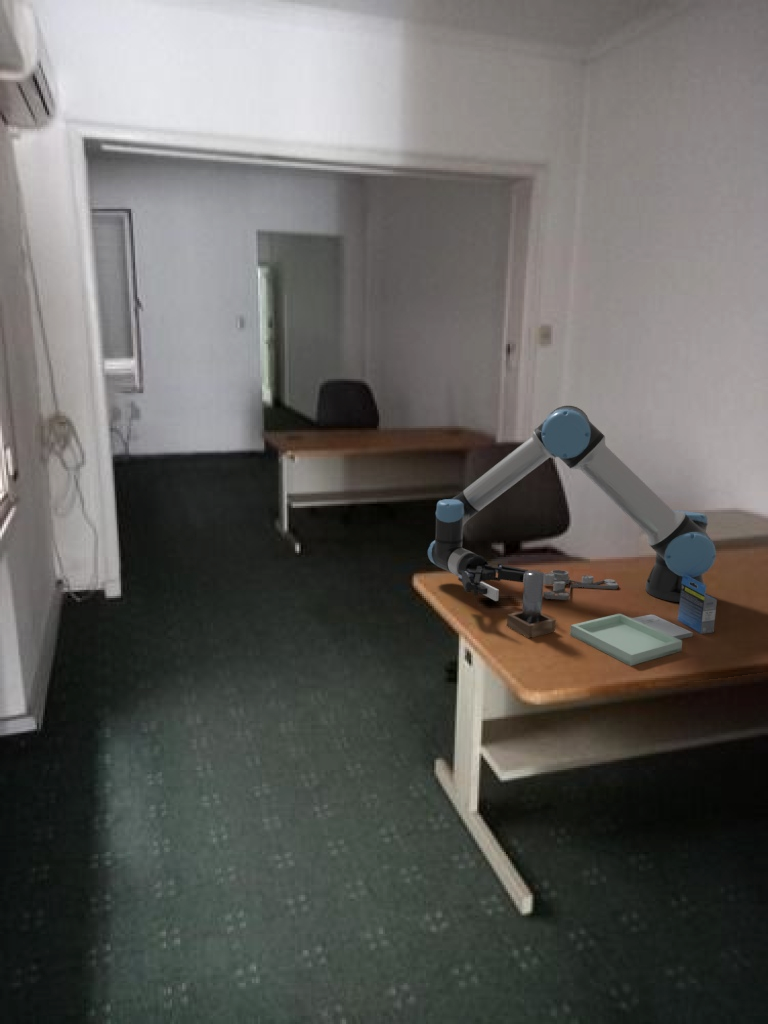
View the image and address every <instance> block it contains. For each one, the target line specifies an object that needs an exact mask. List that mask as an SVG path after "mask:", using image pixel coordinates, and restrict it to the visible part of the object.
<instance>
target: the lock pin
mask: <svg viewBox="0 0 768 1024" xmlns="http://www.w3.org/2000/svg"><path fill="white" fill-rule="evenodd" d="M528 570H529V569H528ZM544 573H545V572H542V571H540V570H531V569H530V570H529V571H526V572H525V577H524V584H523V591H522V592H523V595H522V620H523V621H525V622H527V623H529V624H532V623H536V622H540V621H541V613H542V604H543V595H544V594H543V593H544V584H543V581H544Z"/></svg>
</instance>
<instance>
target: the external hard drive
mask: <svg viewBox="0 0 768 1024" xmlns="http://www.w3.org/2000/svg"><path fill="white" fill-rule="evenodd" d="M631 618H632V619H634V620H636V621H639V622H641V623H643V624H645V625H648V626H650V627H652V628H654V629H657V630H659V631H661V632H664V633H666V634H668V635H670V636H673V637H675V638H677V639H679V640H682V639H686V638H692V637H693V635H694V633H693V631H690V630H688V629H686V628H683V627H682V626H679V625H678V624H675V623H672V622H670V621H668V620H666V619H664V618H662V617H659V616H657V615H655V614H646V615H641V616H640V615H639V616H636V617H631Z"/></svg>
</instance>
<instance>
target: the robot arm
mask: <svg viewBox="0 0 768 1024" xmlns="http://www.w3.org/2000/svg"><path fill="white" fill-rule="evenodd" d="M549 458H550V459H551V458H552V459H553V458H554V459H555V458H559V459H560V460H561V461H562V462H563V463H564V464H565V465H566V466H567V467H568V468H569V469H571V470H580V471H581V472H582V473H583V474H584V475H585V476H586V477H587V478H588V479H589V480H591V481H592V482H593V483H594V484H595V486H597V487H598V488H599V490H601V491H602V493H604V494H605V495H606V496H607V497H608V498H609V499H610V500H611V501H612V502H613V503H614V504H615V505H616V506H617V507H618V508H619V509H620V510H621V511H622V512H623V513H625V514H626V515H627V517H629V519H631V520H632V521H633V523H634V524H636V525H637V526H638V527H639V528H640V530H642V531H643V532H644V533H645V534H646V535H647V544H648V545H649V547H650V548H652V550H654V552H656V553H655V562H654V565H653V567H652V569H651V571H650V573H649V575H648V578H647V579H646V582H645V589H646V590H645V592H646V593H648V594H649V595H651V596H652V597H655V598H657V599H661V600H663V601H668V602H676V603H680V594H681V584H682V579H683V575H684V574H686V575H687V576H689V577H691V578H693V579H695V580H697V581H699V582H701V583H703V584H705V583H704V578H703V574H705V573H707V572H708V571H709V570H710V569H711V568H712V567H713V565H714V563H715V562H716V557H717V556H716V555H717V552H716V546H715V542H714V541H713V540H712V539H711V537H710V535H708V532H707V526H708V525H709V523H708V516H707V515H706V514H704V513H701V512H696V511H695V512H694V511H686V510H673V509H672V508H671V507H670V506H668V504H667V503H666V502H665V501H664V500H663V499H661V497H659V496H658V494H657V493H655V491H653V490H652V489H651V488H650V487H649V486H648V484H646V483H645V482H644V481H643V480H642V479H641V478H640V477H639V476H638V475H636V473H635V472H634V471H633V470H631V469H630V467H628V466H627V464H625V462H624V461H622V460H621V458H619V457H618V456H617V455H616V454H615V453H614V452H613V451H612V450H611V449H610V448H609V447H608V446H607V445H606V436H605V435H604V433H602V431H600V430H599V429H598V428H597V427H596V426H595V424H593V423H592V421H590V419H589V418H588V415H587V414H586V412H584V411H583V409H581V408H579V407H578V406H574V405H562V406H560V407H557V408H556V409H554V410H552V412H550V414H549V415H547V417H546V419H545V420H544V421H543V422H542V423H541V424H539V425H538V426H537V427H536V428H535V429H533V431H532V436H530V438H528V439H527V440H525V441H524V442H523V443H522V444H521V445H519V446H517V448H515V449H514V450H513V451H512V452H510V453H508V454H507V455H506V456H505V457H504V458H503V459H501V460H500V461H499V462H498V463H496V464H495V465H494V466H492V467H491V468H490V469H489V470H487V471H486V472H485V473H483V475H481V476H480V477H479V478H478V479H476V480H475V481H473V482H472V483H470V485H469V486H467V487H466V488H465V489H463V491H461V492H459V493H458V494H457V495H456V496H454V497H452V498H448V499H446V498H445V499H442V500H441V499H440V500H438V501H437V503H436V510H435V539H434V540H433V541H432V542H431V543H430V544H429V547H428V549H427V556H428V559H429V560H430V562H431V563H433V564H434V565H435V566H437V567H438V568H440V569H442V570H444V571H447V572H449V573H451V574H453V575H455V576H456V577H458V581H459V582H460V583H461V584H462V586H463V589H464V591H465V592H466V593H467V594H468V593H471V591H472V592H473V593H472V594H473V595H474V596H479V594H481V595H483V596H485V597H487V598H489V599H491V600H493V601H494V602H497V601H499V592H500V590H499V589H498V588H496V587H494V586H492V585H491V584H488V583H486V581H489V582H490V581H495V582H500V581H510V582H517V583H522V584H523V585H524V577H525V572H526V571H529V569H526V568H525V569H524V568H518V567H514V566H509V565H505V564H503V563H498V564H497V566H495V565H492V564H489V563H488V561H487V560H486V559H485V557H483V556H482V555H478V554H477V553H475V552H472V551H470V550H468V549H465V548H463V535H464V534H463V533H464V525H465V524H466V523H467V522H468V521H469V520H470V519H471V518H473V517H474V516H475V515H477V514H478V513H479V512H480V511H481V510H483V509H484V508H485V507H486V506H488V505H489V504H491V503H492V502H493V501H494V500H496V499H497V498H499V497H500V496H501V495H502V494H503V493H505V492H506V491H507V490H509V489H511V488H512V487H513V486H514V485H515V484H517V483H518V482H519V481H521V480H522V479H524V477H526V476H527V475H528V474H530V473H531V472H532V471H534V470H535V469H537V468H539V466H541V465H542V464H543V463H544V462H546V461H547V460H548V459H549ZM496 576H497V577H496ZM690 585H692V586H693V587H695V588H697V585H695V583H691V582H690Z"/></svg>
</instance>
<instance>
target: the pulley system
mask: <svg viewBox="0 0 768 1024" xmlns="http://www.w3.org/2000/svg"><path fill="white" fill-rule="evenodd" d="M543 573H544V581H543V585H546V586H553V590H551V591H543V594H542V595H543V598H545V599H546V600H548V599H551V600H560V601H561V600H562V601H568V600H569V599H570V594H571V590H572V589H571V587H572V588H578V587H582V588H583V587H584V588H585V589H603V590H618V589H619V583H617V582H616V580H615V579H611V578H607V579H603V580H600V581H596V582H595V581H594V578H595V577H594V576H592V575H589V574H585V575H582V577H581V581H579V580H578V581H577V580H572V579H571V578H570V577H569V573H570V572H569V571H566V570H561V569H554V570H553V569H552V570H551V571H550V572H543ZM572 582H574V583H572ZM569 583H571V584H570V587H569V591H568V592H566V587H565V586H567V585H566V584H568V585H569ZM575 583H577V584H575ZM603 583H604V584H605V585H602V584H603ZM553 584H554V585H553ZM600 584H601V585H600ZM582 588H581V589H582ZM617 588H618V589H617ZM562 592H564V593H562Z"/></svg>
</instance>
